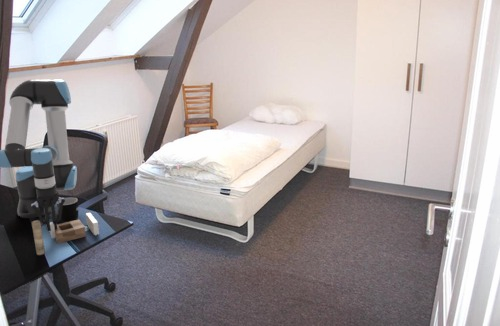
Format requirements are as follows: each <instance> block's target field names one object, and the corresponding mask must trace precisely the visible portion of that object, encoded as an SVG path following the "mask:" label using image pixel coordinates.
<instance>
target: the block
mask: <svg viewBox="0 0 500 326" xmlns="http://www.w3.org/2000/svg"><path fill="white" fill-rule="evenodd" d="M55 235H56V238H54V239H55V241H56V243H57V244H61V243H66V242H69V241H73V240H74V241H75V240H77V239H81V238H85V237H87V234H86V227H85V225H84V224H83V222H82V221H81V220H80V219H78V218H77V220H74V221H70V222H65V223H63V222H61V223H57V229H56V230H55Z"/></svg>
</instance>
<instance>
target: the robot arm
mask: <svg viewBox="0 0 500 326" xmlns="http://www.w3.org/2000/svg"><path fill="white" fill-rule="evenodd" d="M70 92H71V91H70V89H69V87H68V83H67V82H66V81H65V80H64V79H55V78H54V79H28V80H26V81H25V80H24V81H23V82H22V83H19V85H18V86H16V87H15V89H14V90H13V91H12V93H11V95H10V98H9V106H10V114H9V119H8V126H7V133H6V139H5V145H4V149H0V168H1V169H2V168H3V169H4V168H5V169H9V168H10V169H11V168H12V169H13V168H18V170H16V171H15V182H16V187H17V193H18V198H19V199H18V200H19V201H18V204H17V209H16V211H17V212H16V213H17V216H18V217H19V216H20V218H22V219H34V218H39V221H40V223H41V225H43V226H44V225H46V230H47V232H50V237H51V239H55V238H56V235H55V230H56V229H57V224H58V222H61V221H62V220H61V215H62V208H63V204H64V202H65V199H64V198H65V197H63V196H59V194H58V192H59V191H69V190H73V189H75V187H76V184H77V178H78V167H77V166H76V165H74V162H73V161H72V160H70V154H69V142H68V133H67V120H66V118H67V117H66V110H67V109H68V108H69V105H70V104H71V103H72V99H71V93H70ZM34 105H40V106H41V109H42V110H43V111H44V113H45V123H46V132H47V144H48V145H44V146H42V147H38V148H37V147H36V148H27V147H26V146H27V140H28V139H27V138H28V132H29V131H28V130H29V122H30V113H31V110H32V109H33V108H34ZM57 201H58V202H59V205H58V207H57V212H56V209H55V206H56V205H57ZM56 213H57V214H56ZM50 215H51V219H52V220H51V221H50Z"/></svg>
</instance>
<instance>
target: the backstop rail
mask: <svg viewBox="0 0 500 326" xmlns="http://www.w3.org/2000/svg"><path fill="white" fill-rule="evenodd" d="M85 219H86V220H85V221H86V226H87V225H88V226H87V227H88V228H90V229H89V230H90V231H91V233H92V234H93V236H94V235H95V236H98V235H100V231H99V222H98V220H97V219H96V218H95V216H93V214H92V213H91V212H86V213H85ZM97 234H98V235H97Z"/></svg>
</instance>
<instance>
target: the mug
mask: <svg viewBox="0 0 500 326" xmlns="http://www.w3.org/2000/svg"><path fill="white" fill-rule="evenodd" d="M63 198H64V199H65V202H64V204H63V208H62V215H61V220H60V221H61V223H65V222H70V221H74V220H78V218H79V200H78V198H77V197H74V196H73V197H72V196H70V197H63ZM58 205H59V202H58V201H57V202H56V206H57V208H58Z"/></svg>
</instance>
